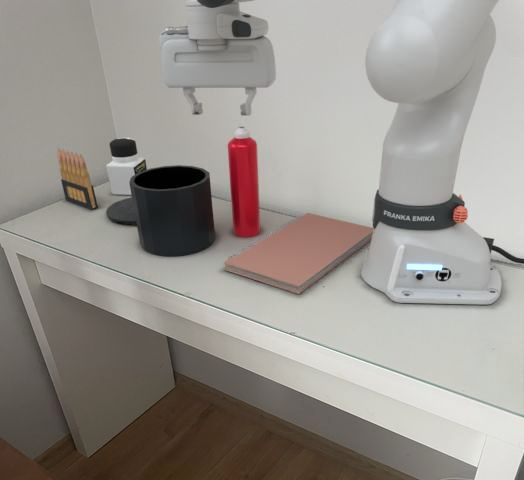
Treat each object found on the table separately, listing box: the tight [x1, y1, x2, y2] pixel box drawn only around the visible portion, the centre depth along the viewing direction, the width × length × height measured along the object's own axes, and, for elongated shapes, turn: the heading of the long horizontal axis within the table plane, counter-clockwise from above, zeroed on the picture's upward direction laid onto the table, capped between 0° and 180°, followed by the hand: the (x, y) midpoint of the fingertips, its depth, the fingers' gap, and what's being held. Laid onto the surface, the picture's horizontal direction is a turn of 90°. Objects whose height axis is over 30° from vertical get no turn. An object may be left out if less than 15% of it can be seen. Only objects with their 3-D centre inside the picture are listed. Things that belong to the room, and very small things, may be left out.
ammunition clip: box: [56, 147, 99, 211], centre depth 120 cm, size 11×2×12 cm, turn 49°
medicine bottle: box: [105, 137, 148, 196], centre depth 127 cm, size 7×7×12 cm
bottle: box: [227, 126, 261, 238], centre depth 101 cm, size 6×6×20 cm
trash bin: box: [129, 164, 216, 257], centre depth 101 cm, size 15×15×12 cm
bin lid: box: [105, 196, 137, 225], centre depth 116 cm, size 16×16×5 cm
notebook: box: [223, 212, 374, 295], centre depth 98 cm, size 27×17×2 cm, turn 143°
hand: (221, 114), depth 96 cm, fingers open, 8 cm apart
